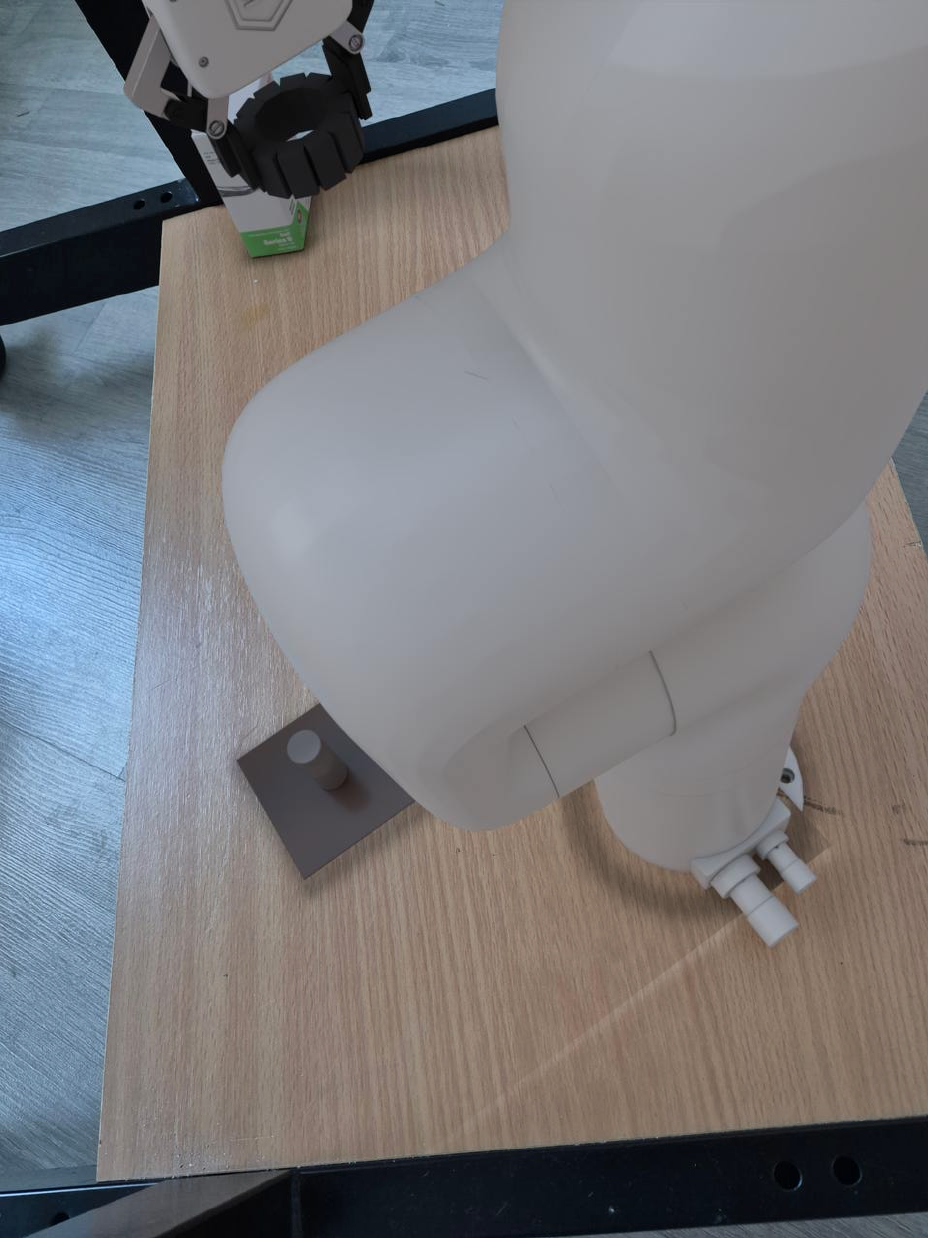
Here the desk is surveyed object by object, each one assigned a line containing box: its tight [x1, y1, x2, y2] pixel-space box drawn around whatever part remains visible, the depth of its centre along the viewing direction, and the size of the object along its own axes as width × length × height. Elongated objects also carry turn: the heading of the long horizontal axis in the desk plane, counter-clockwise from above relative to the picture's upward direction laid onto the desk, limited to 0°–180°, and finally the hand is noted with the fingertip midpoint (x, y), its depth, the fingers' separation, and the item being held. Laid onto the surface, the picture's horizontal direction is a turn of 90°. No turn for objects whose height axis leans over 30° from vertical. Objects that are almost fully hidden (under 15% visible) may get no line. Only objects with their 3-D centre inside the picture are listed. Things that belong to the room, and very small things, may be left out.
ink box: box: [190, 71, 312, 258], centre depth 80 cm, size 9×5×12 cm, turn 178°
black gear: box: [233, 71, 366, 199], centre depth 61 cm, size 7×7×3 cm
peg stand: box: [236, 702, 417, 880], centre depth 59 cm, size 9×9×6 cm
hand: (302, 141), depth 62 cm, fingers closed on black gear, 7 cm apart
